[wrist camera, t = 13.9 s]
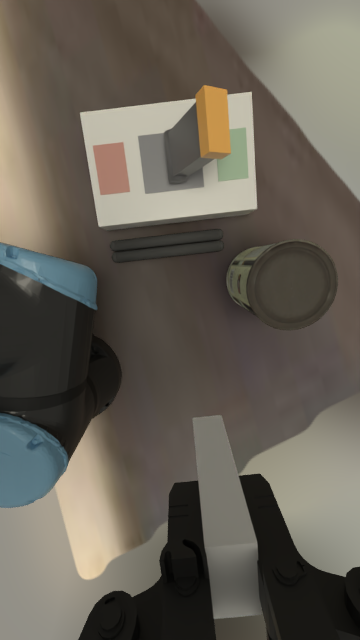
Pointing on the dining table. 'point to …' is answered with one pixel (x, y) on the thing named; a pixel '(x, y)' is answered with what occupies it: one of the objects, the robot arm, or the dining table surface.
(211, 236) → the long thin dark rod
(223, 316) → the dining table surface
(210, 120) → the breaker lever
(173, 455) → the dining table surface
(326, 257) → the coffee can
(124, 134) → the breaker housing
